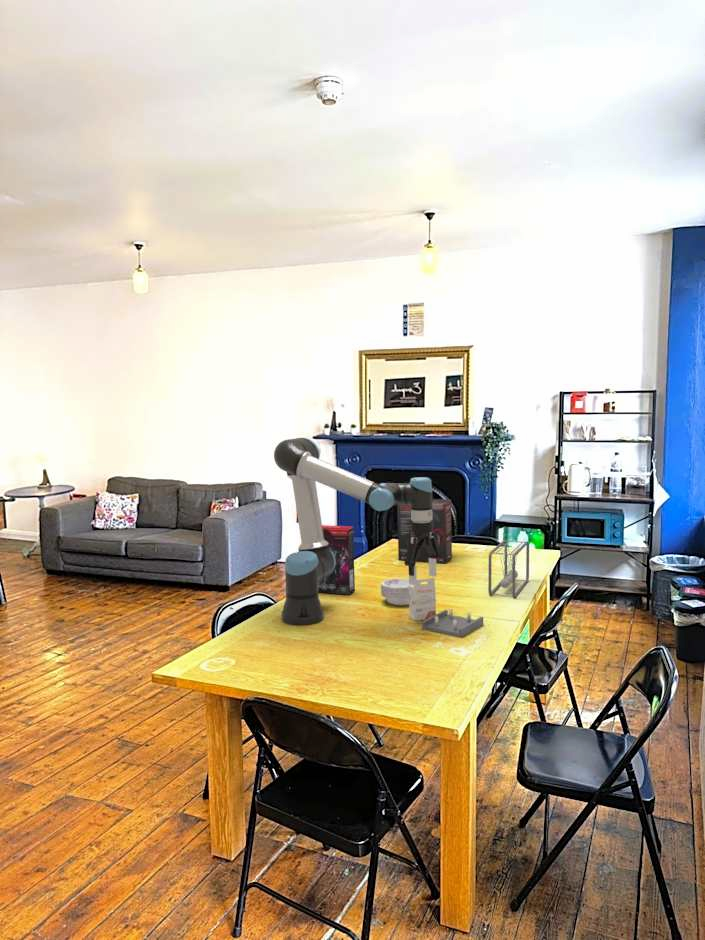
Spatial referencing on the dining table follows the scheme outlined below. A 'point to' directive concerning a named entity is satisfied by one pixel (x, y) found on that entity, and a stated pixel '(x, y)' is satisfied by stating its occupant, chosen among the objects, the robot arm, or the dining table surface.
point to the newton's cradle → (512, 573)
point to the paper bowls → (396, 591)
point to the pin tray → (451, 624)
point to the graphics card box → (340, 560)
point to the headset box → (440, 527)
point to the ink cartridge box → (422, 600)
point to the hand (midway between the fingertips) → (423, 580)
